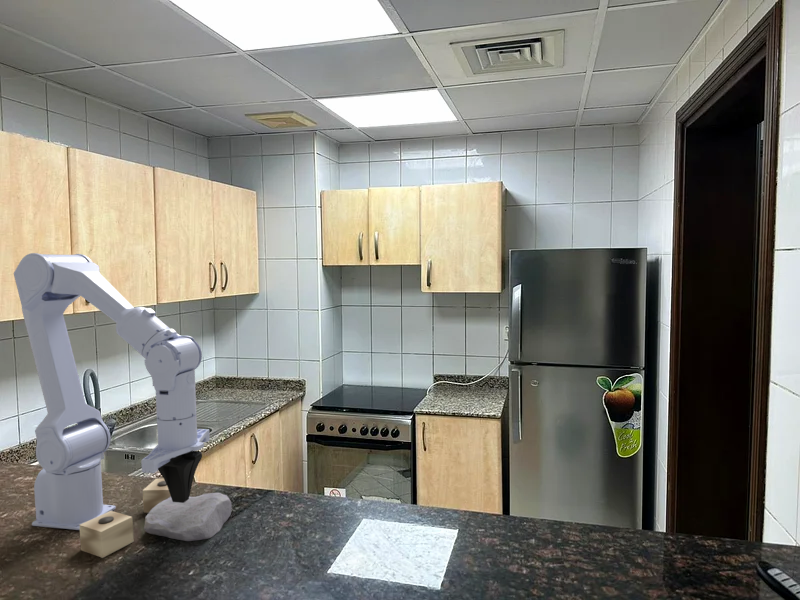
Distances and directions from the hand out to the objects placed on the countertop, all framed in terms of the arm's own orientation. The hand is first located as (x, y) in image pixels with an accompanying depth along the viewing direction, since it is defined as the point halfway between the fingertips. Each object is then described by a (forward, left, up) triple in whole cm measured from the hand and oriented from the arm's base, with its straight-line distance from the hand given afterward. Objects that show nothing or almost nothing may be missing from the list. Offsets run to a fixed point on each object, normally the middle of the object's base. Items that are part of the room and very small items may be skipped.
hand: (180, 500), depth 84 cm
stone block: (0, +1, -5) cm, 6 cm away
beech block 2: (-8, +8, -5) cm, 12 cm away
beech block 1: (-8, -6, -5) cm, 12 cm away
